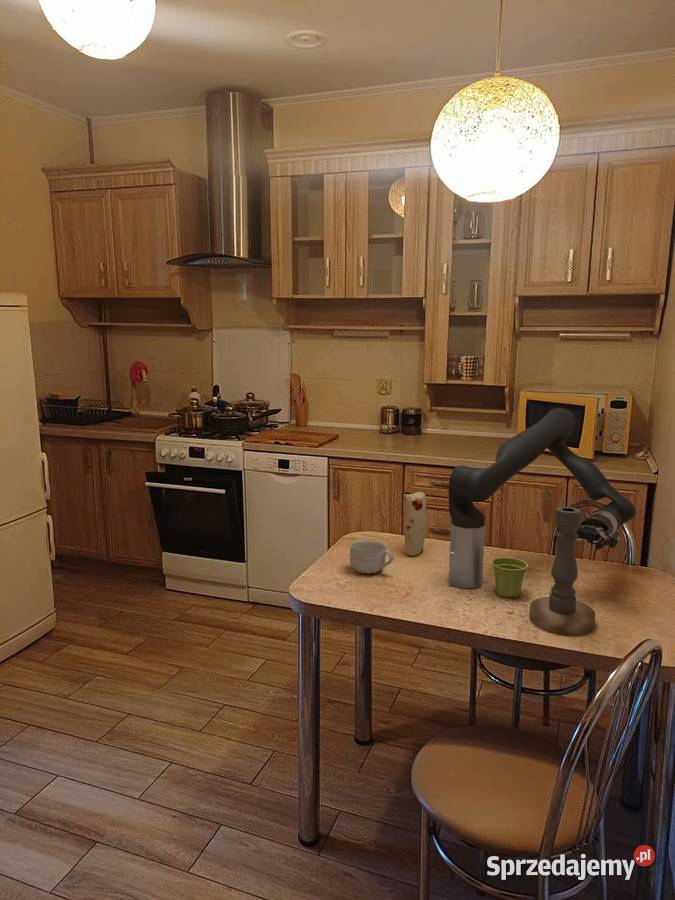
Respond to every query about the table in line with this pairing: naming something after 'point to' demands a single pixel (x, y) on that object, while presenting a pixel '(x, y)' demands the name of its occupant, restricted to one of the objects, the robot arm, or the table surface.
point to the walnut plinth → (562, 618)
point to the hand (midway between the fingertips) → (579, 542)
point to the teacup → (369, 556)
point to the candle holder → (565, 561)
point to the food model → (415, 523)
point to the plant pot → (508, 575)
